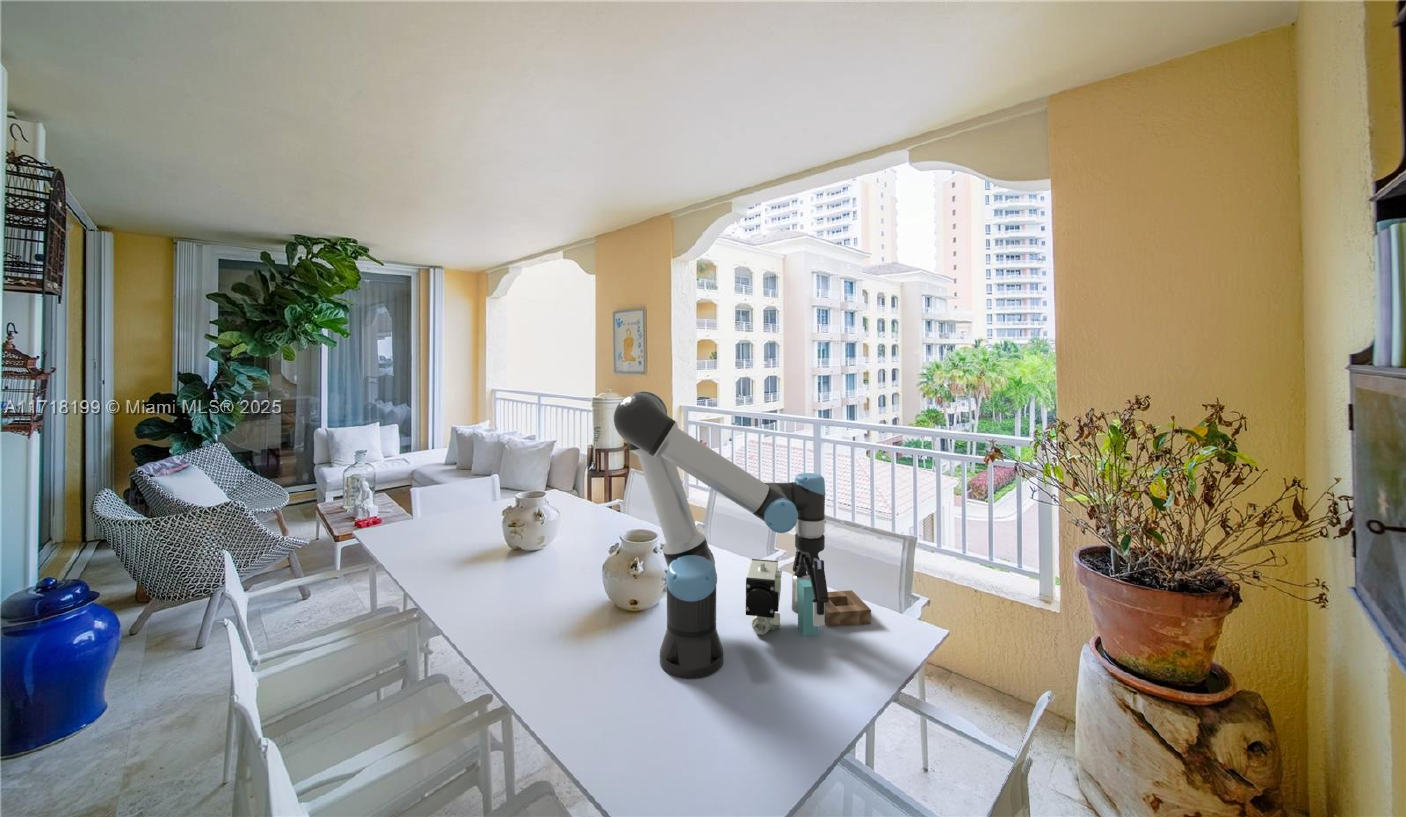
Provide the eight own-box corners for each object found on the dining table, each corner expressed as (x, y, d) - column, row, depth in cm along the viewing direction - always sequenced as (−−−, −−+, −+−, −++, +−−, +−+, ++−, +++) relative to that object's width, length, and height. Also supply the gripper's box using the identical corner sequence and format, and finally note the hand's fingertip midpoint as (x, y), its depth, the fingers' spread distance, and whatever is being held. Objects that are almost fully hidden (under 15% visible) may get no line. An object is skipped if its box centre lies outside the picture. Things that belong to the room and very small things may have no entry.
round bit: (795, 614, 145) (795, 580, 144) (789, 606, 150) (790, 572, 149) (812, 613, 145) (812, 578, 145) (806, 605, 150) (806, 571, 149)
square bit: (803, 635, 134) (803, 587, 132) (797, 627, 138) (798, 580, 137) (818, 634, 134) (819, 586, 133) (812, 626, 138) (813, 579, 137)
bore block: (828, 627, 138) (828, 612, 137) (812, 606, 150) (812, 592, 149) (870, 623, 139) (871, 609, 139) (851, 603, 151) (851, 590, 151)
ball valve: (778, 648, 128) (779, 578, 126) (744, 644, 129) (744, 575, 128) (782, 613, 145) (783, 552, 144) (752, 610, 147) (752, 550, 145)
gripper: (843, 549, 122) (842, 635, 124) (807, 518, 146) (806, 590, 148) (813, 551, 121) (812, 638, 123) (781, 520, 145) (781, 592, 147)
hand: (809, 612), depth 135 cm, fingers open, 13 cm apart
